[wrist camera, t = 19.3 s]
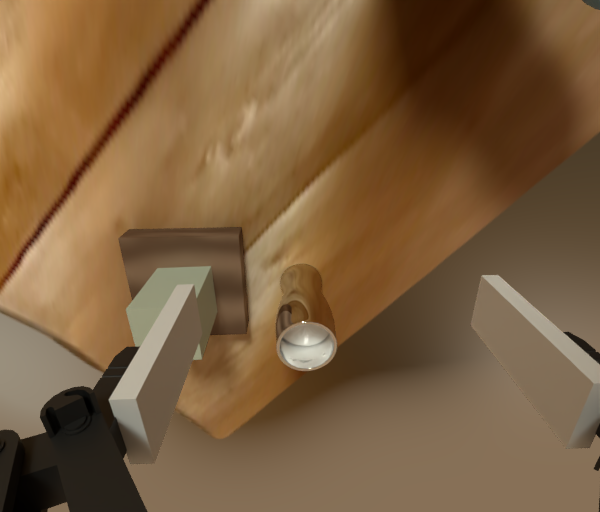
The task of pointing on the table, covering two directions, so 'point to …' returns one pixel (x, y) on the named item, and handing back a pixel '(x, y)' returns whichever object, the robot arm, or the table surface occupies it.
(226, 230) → the walnut block
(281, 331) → the beer glass
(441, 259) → the table surface
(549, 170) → the table surface
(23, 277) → the table surface
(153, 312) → the sage block
